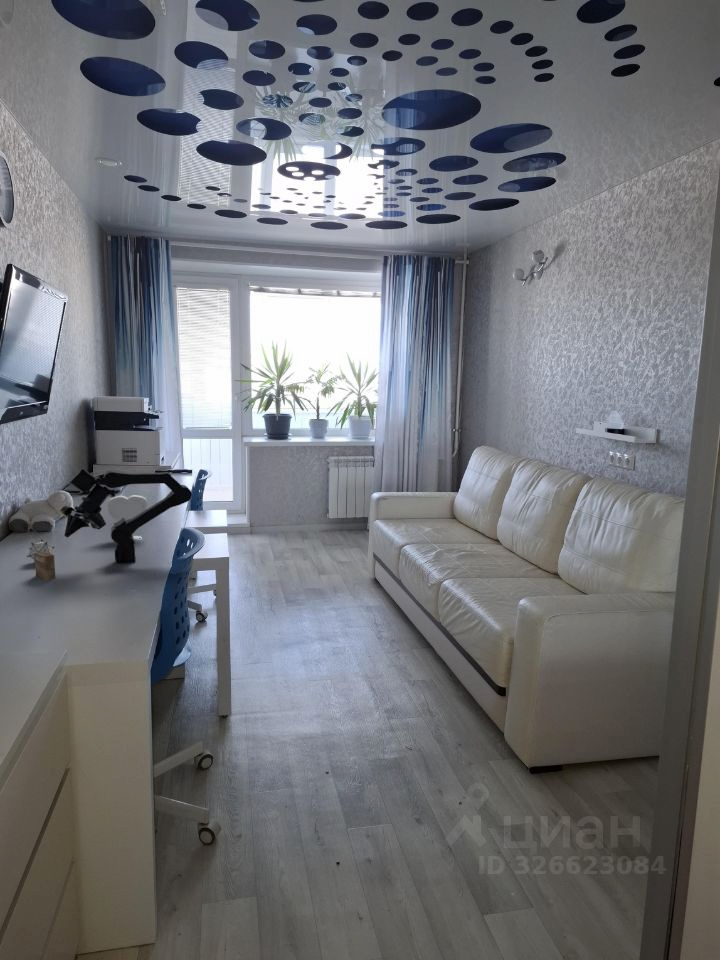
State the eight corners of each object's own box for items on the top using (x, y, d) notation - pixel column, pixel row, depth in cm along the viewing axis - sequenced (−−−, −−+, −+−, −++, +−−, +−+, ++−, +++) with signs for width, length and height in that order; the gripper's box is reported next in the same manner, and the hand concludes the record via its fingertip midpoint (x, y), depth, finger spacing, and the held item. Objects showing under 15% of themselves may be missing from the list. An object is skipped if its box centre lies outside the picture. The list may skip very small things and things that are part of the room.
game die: (37, 574, 231) (17, 555, 225) (41, 559, 238) (22, 541, 232) (59, 562, 230) (39, 543, 225) (62, 548, 237) (43, 529, 232)
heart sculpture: (108, 541, 263) (106, 497, 261) (109, 538, 268) (107, 495, 265) (148, 538, 268) (147, 496, 265) (148, 536, 273) (147, 494, 270)
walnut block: (44, 574, 219) (43, 551, 217) (55, 578, 214) (54, 554, 213) (35, 576, 216) (34, 553, 215) (46, 580, 212) (44, 556, 211)
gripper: (124, 517, 227) (97, 554, 220) (95, 510, 238) (68, 545, 231) (102, 498, 219) (73, 535, 212) (74, 492, 230) (45, 527, 223)
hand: (65, 536), depth 220 cm, fingers closed
